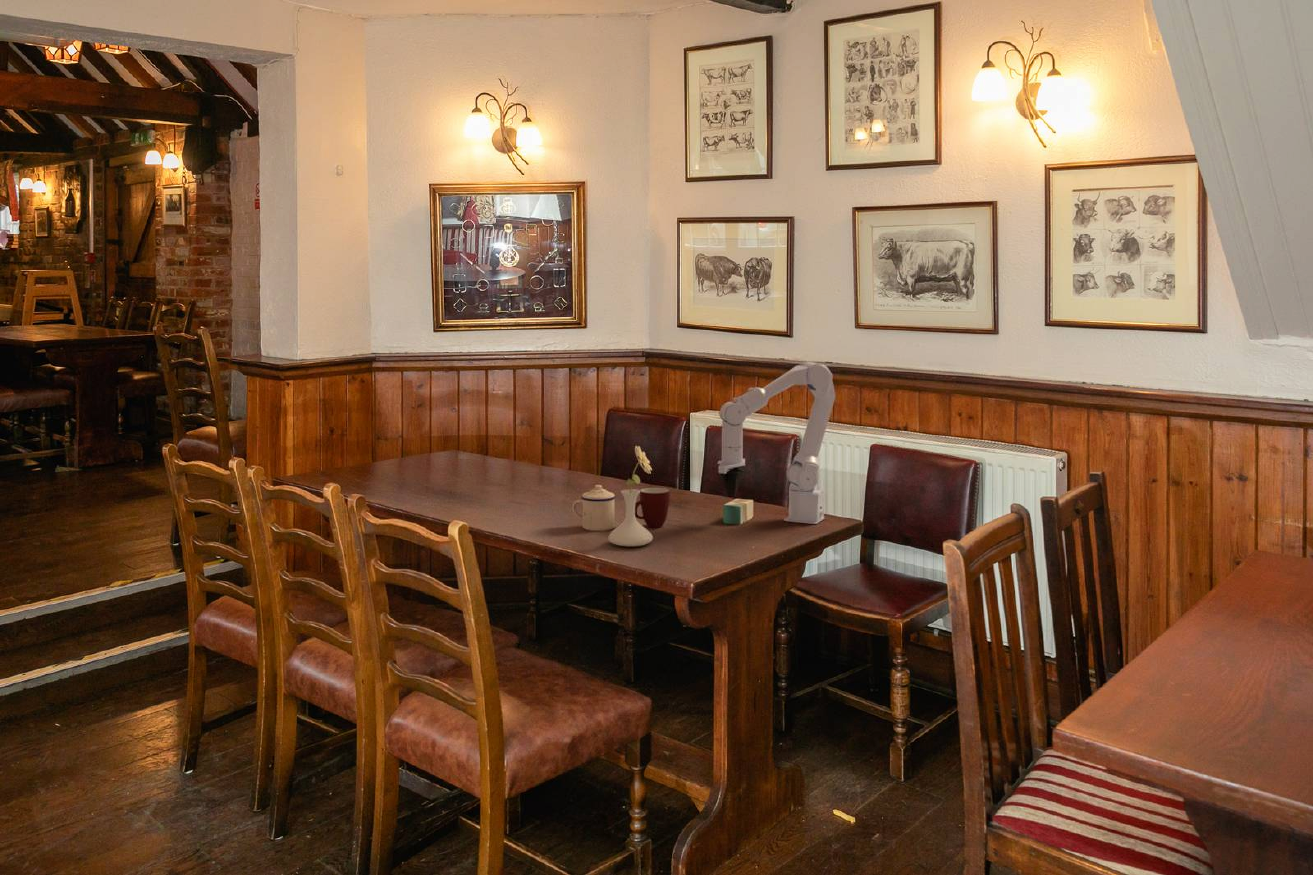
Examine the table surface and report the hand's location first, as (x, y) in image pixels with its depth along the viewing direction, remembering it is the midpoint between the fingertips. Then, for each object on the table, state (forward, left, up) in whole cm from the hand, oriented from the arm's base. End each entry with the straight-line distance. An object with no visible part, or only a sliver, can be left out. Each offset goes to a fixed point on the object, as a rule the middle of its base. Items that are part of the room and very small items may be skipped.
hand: (731, 495), depth 300 cm
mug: (+18, +14, -8) cm, 24 cm away
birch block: (0, 0, -6) cm, 6 cm away
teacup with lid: (+32, +20, -8) cm, 39 cm away
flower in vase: (+14, +32, -8) cm, 36 cm away
